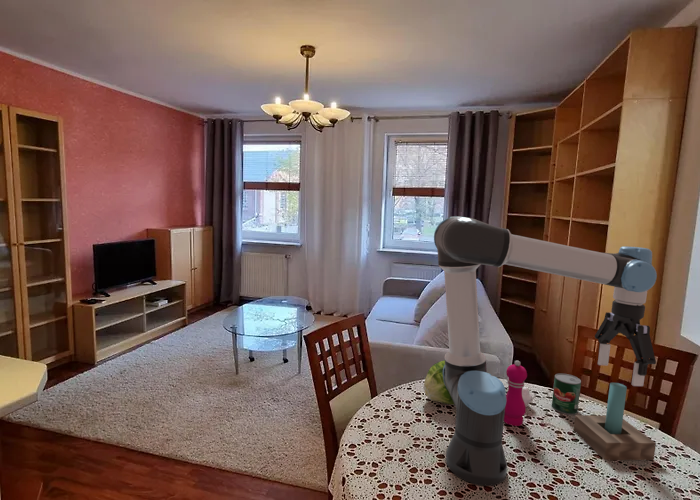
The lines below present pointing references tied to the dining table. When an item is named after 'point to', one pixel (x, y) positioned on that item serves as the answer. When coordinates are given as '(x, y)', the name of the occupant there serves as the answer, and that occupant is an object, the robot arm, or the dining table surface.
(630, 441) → the socket block
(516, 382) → the pepper mill
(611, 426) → the peg
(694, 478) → the dining table surface
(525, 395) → the white citrus juicer
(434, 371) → the lettuce
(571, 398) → the canned tomato
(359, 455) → the dining table surface
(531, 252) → the robot arm
